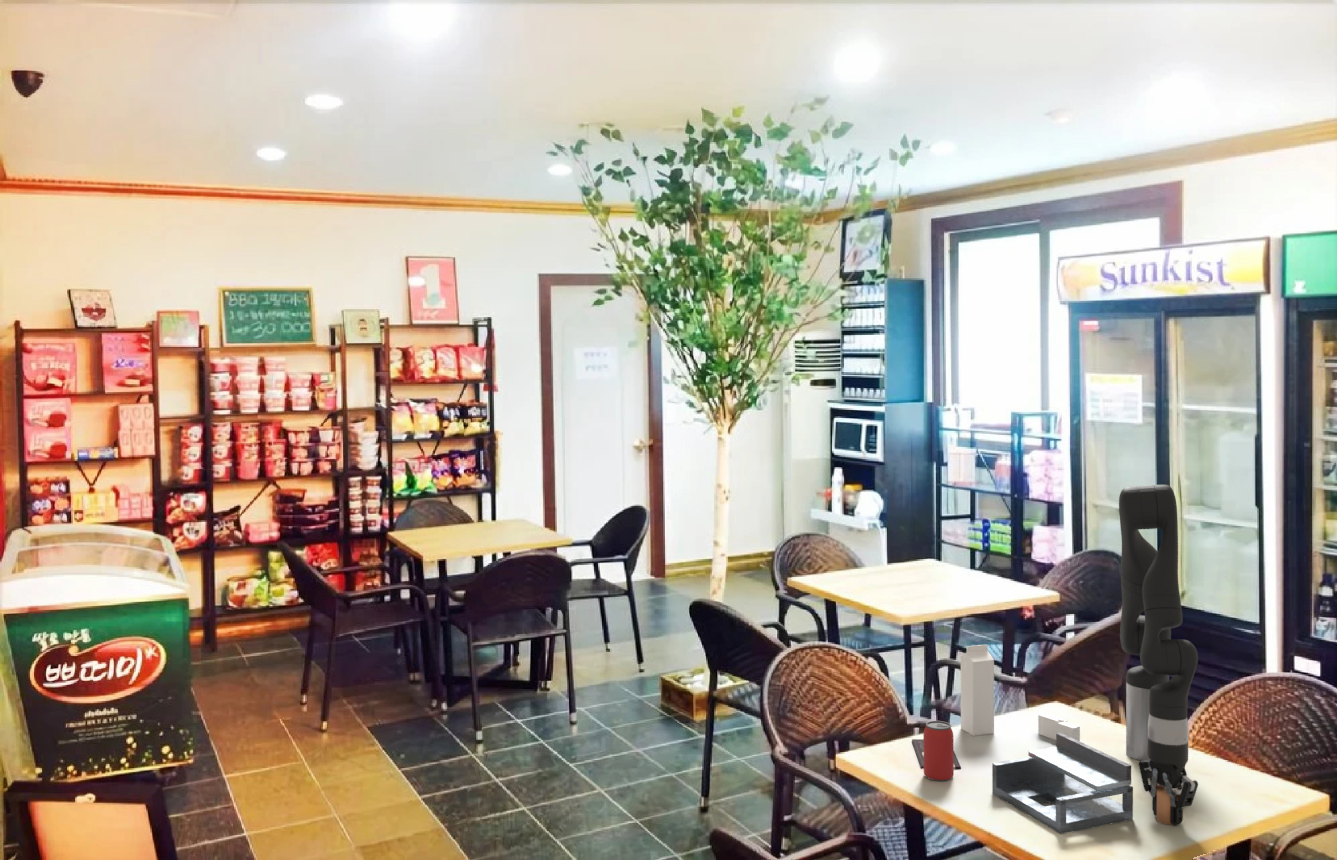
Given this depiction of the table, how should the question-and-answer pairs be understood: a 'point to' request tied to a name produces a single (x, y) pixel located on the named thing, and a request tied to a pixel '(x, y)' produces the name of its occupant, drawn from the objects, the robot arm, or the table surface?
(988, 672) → the milk
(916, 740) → the chocolate bar
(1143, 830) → the table surface
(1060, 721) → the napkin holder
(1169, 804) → the rounded orange stub
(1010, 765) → the housing
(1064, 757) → the cover
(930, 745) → the beer can
